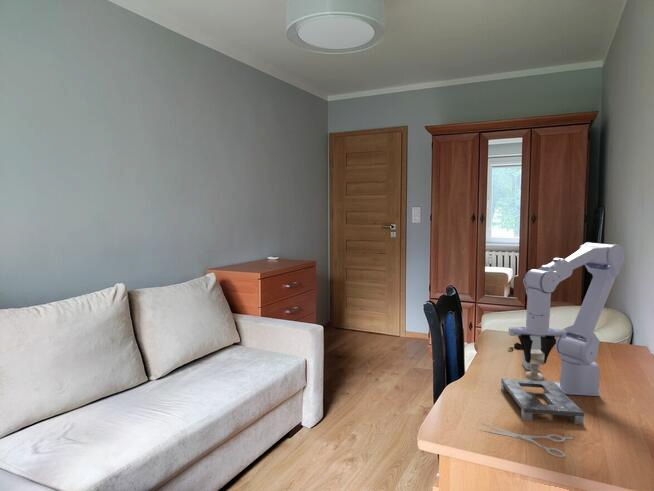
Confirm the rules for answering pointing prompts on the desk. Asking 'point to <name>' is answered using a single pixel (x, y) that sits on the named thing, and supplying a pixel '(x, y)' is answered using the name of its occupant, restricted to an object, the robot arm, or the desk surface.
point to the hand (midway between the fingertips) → (535, 362)
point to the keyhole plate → (532, 404)
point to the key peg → (535, 365)
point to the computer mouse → (516, 347)
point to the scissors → (529, 438)
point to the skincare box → (535, 346)
